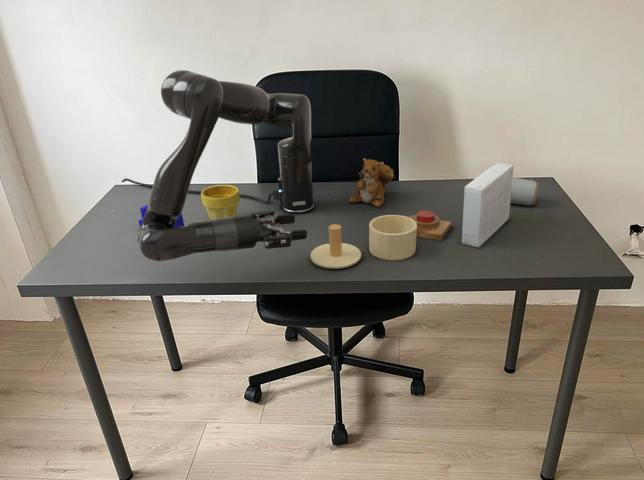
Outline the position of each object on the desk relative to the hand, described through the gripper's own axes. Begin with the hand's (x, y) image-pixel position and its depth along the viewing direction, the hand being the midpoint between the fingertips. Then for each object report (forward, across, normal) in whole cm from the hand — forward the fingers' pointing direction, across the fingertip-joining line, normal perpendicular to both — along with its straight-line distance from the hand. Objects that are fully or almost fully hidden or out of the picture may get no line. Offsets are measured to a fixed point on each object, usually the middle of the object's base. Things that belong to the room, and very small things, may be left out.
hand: (300, 226), depth 129 cm
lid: (+9, -2, +9) cm, 13 cm away
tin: (+24, -4, +8) cm, 25 cm away
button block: (+37, +2, +7) cm, 38 cm away
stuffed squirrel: (+34, +29, +9) cm, 46 cm away
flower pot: (-11, +32, +13) cm, 36 cm away
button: (+37, +3, +4) cm, 37 cm away
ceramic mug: (+73, +7, +4) cm, 73 cm away
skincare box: (+52, -5, +5) cm, 52 cm away
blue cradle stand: (-28, +34, +15) cm, 47 cm away
